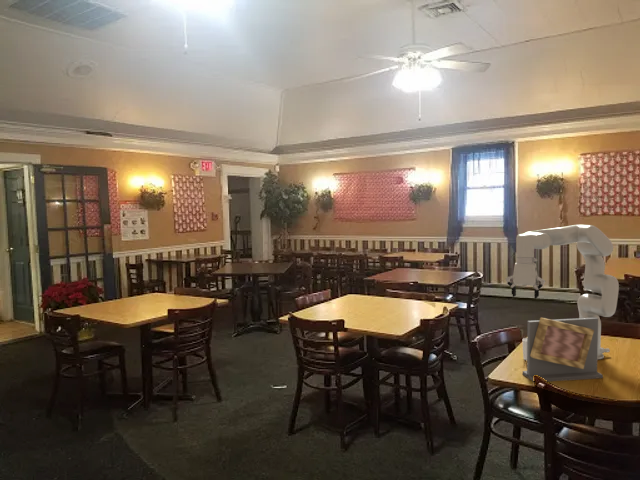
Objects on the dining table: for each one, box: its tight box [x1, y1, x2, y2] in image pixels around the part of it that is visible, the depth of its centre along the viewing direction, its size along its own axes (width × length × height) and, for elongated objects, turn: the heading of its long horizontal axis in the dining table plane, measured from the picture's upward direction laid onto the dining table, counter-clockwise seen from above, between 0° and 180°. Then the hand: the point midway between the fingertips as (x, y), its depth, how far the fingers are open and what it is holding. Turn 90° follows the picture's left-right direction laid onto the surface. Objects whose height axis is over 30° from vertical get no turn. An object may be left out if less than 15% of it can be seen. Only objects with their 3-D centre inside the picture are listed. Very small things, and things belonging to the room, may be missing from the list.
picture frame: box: [530, 317, 594, 369], centre depth 218 cm, size 24×3×18 cm, turn 95°
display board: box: [522, 317, 604, 382], centre depth 222 cm, size 32×10×26 cm, turn 95°
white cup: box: [522, 337, 527, 362], centre depth 246 cm, size 8×8×10 cm
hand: (525, 297), depth 230 cm, fingers open, 9 cm apart
